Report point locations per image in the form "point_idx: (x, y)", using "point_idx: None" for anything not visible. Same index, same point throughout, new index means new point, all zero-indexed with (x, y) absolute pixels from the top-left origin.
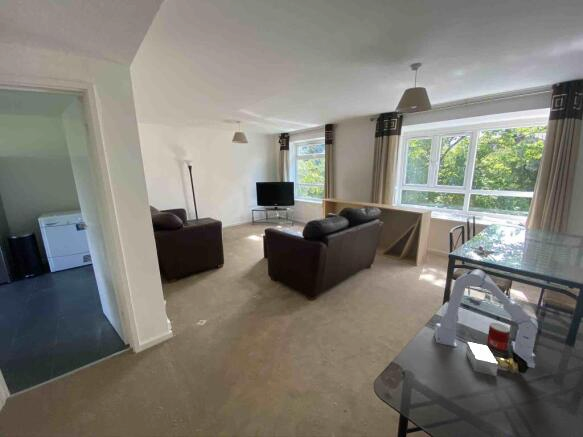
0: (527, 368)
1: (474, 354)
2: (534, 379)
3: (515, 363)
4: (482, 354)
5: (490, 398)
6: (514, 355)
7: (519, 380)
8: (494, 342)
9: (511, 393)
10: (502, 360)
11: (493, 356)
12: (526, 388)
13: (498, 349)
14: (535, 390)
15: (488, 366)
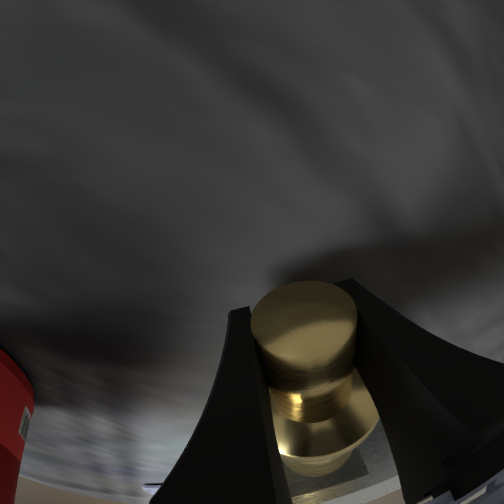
0: (421, 335)
1: (367, 501)
2: (315, 150)
3: (330, 407)
4: (355, 501)
5: (498, 360)
6: (289, 494)
7: (392, 283)
8: (23, 439)
9: (488, 316)
10: (342, 456)
11: (354, 491)
12: (458, 249)
13: (24, 378)
14: (464, 193)
15: None
